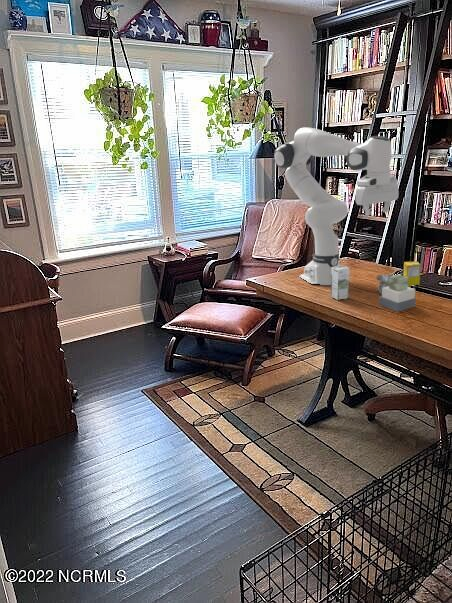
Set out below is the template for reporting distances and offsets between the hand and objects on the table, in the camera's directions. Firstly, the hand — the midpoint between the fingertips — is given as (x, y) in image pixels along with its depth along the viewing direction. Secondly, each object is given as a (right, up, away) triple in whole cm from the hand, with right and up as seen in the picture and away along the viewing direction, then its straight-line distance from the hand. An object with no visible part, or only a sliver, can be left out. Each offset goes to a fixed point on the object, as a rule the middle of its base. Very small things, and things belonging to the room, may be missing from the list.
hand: (376, 213), depth 185 cm
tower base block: (+9, -38, +3) cm, 39 cm away
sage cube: (+9, -31, 0) cm, 32 cm away
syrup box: (-11, -35, +16) cm, 40 cm away
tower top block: (+9, -34, +1) cm, 36 cm away
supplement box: (+24, -29, +24) cm, 45 cm away
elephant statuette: (+10, -32, +20) cm, 39 cm away
